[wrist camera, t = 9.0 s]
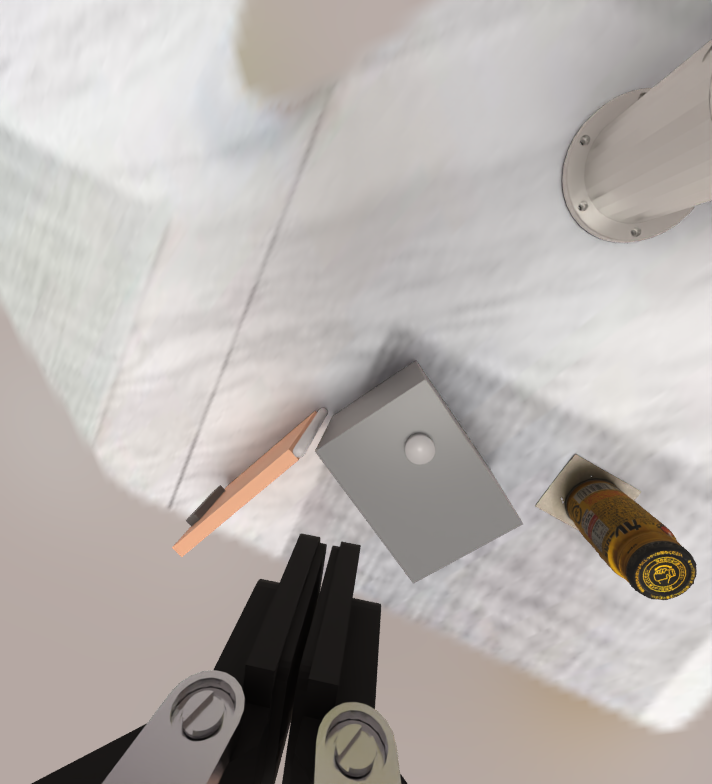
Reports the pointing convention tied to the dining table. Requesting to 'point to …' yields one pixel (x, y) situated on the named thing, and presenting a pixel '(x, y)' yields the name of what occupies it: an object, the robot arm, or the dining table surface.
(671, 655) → the dining table surface
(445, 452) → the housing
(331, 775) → the robot arm
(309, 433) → the door
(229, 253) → the dining table surface
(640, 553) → the condiment
